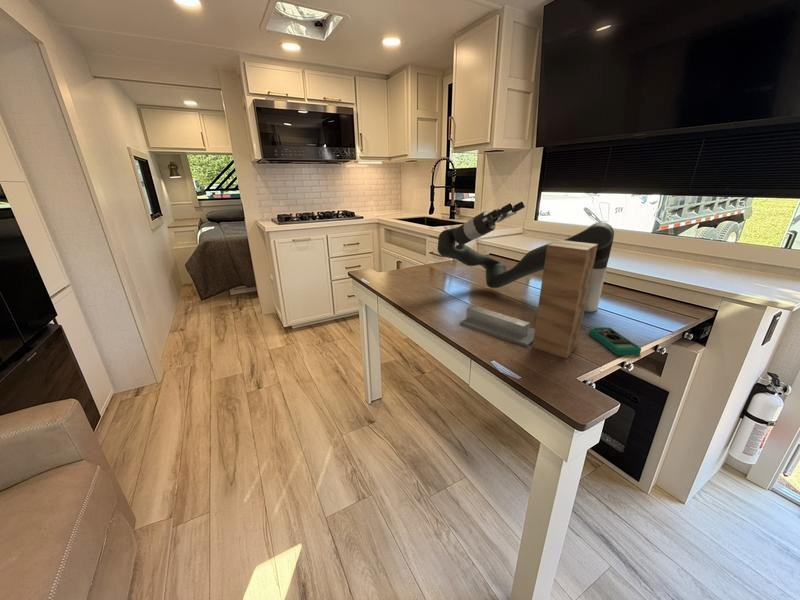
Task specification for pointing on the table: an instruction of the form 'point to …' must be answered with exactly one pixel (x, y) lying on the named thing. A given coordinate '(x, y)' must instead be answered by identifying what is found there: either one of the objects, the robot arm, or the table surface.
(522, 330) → the aluminium bar
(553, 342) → the walnut stand
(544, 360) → the table surface
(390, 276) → the table surface
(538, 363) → the table surface
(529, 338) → the rubber mat
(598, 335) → the digital multimeter
